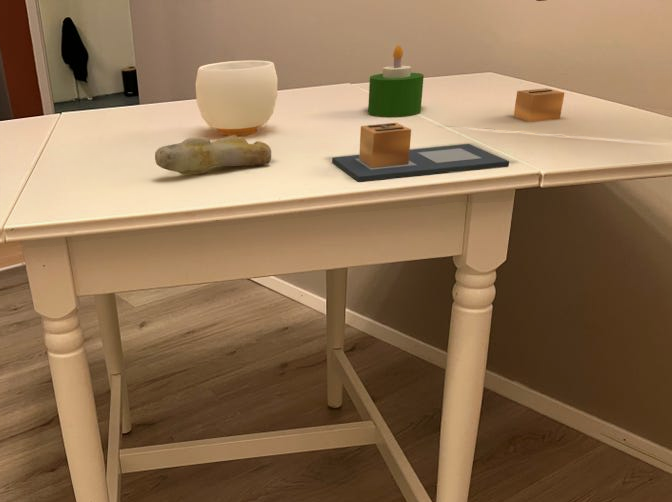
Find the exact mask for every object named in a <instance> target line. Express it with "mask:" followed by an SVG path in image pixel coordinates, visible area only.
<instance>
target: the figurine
mask: <svg viewBox="0 0 672 502" xmlns="http://www.w3.org/2000/svg"><path fill="white" fill-rule="evenodd" d="M271 160H272V149H271V146H269V144H267V143H265V142H264V141H259V140H257V141H255V142H254V143H249V142H248V141H247V140H246V138H244V137H239V136H237V135H232V136H225V137H220V138H218V139H215V140H213V141H211V139H210V138H209V137H200V136H199V137H198V136H197V137H188V138H186V139H183V141H181V142H178V143H174V144H167V145H164V146H161V147H158V148H157V149H156V151H155V153H154V161H155V165H157V166H158V167H160V168H161V169H163V170H167V171H170V172H175V173H179V174H181V175H183V176H184V175H185V176H189V175H190V176H194V175H195V176H198V175H202V174H206V173H208V172H209V170H211V169H212V168H216V167H245V166H258V165H259V166H261V165H268V164H270V163H271Z"/></svg>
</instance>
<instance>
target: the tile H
mask: <svg viewBox="0 0 672 502" xmlns="http://www.w3.org/2000/svg"><path fill="white" fill-rule="evenodd" d="M411 138H412V129H411V128H410V127H407V126H406V125H402V124H401V123H399V122H388V123H377V124H367V125H361V126H360V137H359V154H358V155H359V160H361V161H363V162H364V163H366V164H367V165H369V166H370V167H372V168H375V167H385V166H395V165H405V164H409V152H410V150H411V140H412V139H411Z"/></svg>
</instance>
